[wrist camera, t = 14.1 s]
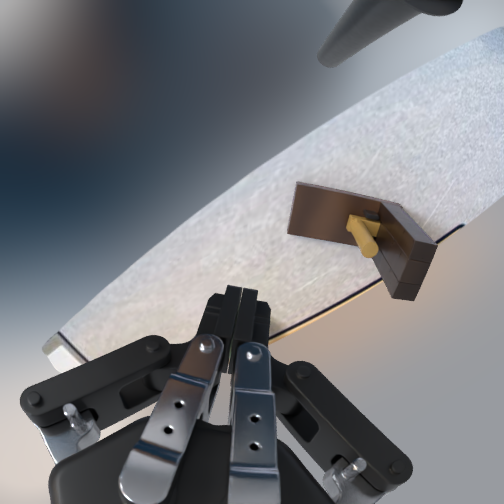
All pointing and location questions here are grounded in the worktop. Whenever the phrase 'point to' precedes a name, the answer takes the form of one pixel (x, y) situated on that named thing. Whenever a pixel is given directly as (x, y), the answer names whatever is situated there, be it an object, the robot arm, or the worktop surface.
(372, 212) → the latch
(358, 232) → the bolt
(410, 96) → the worktop surface
